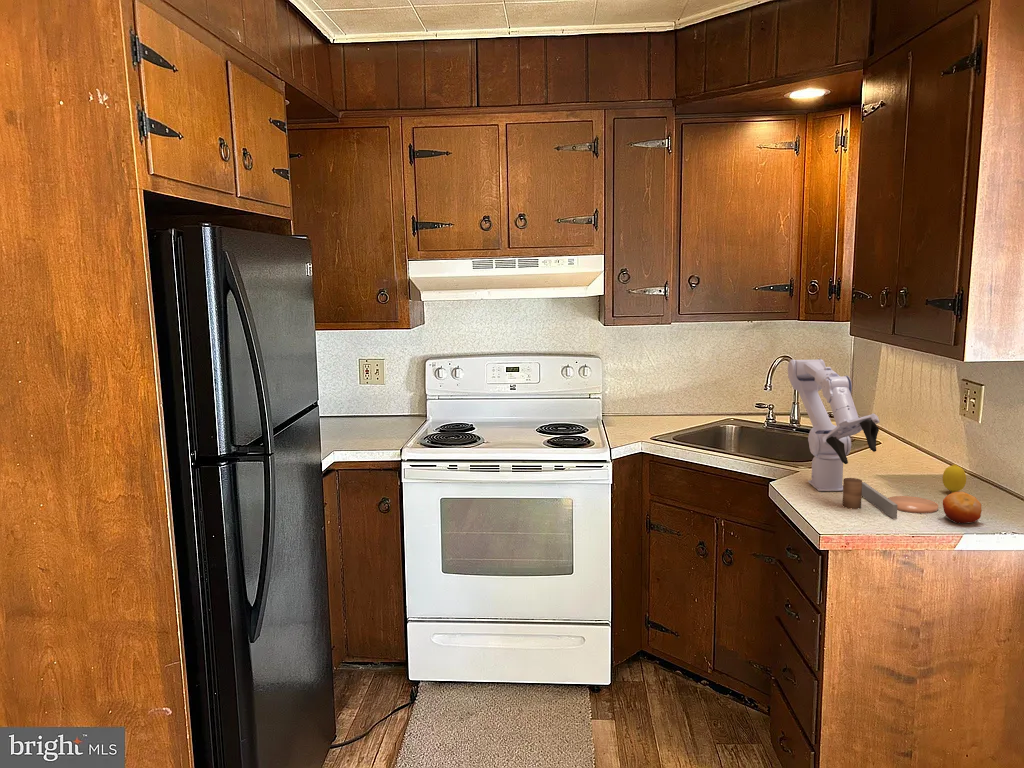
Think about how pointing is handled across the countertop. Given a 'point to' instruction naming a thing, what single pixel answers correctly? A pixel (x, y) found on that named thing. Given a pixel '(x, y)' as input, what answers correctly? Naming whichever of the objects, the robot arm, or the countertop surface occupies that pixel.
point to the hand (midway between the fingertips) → (858, 456)
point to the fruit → (962, 507)
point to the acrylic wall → (879, 500)
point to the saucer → (914, 504)
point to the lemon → (954, 478)
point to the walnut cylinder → (852, 493)
